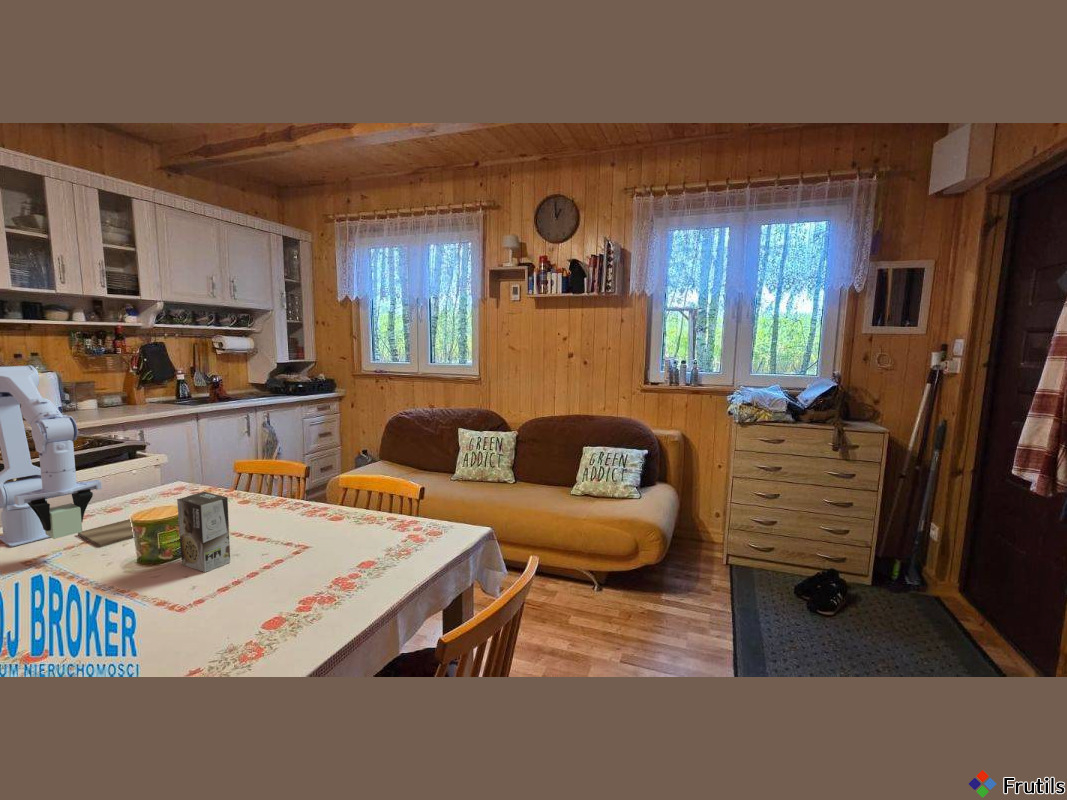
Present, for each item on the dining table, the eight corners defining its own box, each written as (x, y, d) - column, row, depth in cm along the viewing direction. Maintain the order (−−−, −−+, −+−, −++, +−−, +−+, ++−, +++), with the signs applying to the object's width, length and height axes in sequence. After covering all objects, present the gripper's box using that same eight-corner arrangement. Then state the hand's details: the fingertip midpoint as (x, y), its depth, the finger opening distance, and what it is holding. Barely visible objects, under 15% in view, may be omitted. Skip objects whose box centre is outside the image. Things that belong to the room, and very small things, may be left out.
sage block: (45, 534, 112) (43, 509, 111) (73, 527, 116) (71, 503, 116) (53, 539, 110) (51, 513, 109) (82, 531, 114) (80, 507, 113)
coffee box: (232, 561, 115) (229, 497, 113) (204, 573, 109) (200, 505, 107) (208, 553, 119) (205, 490, 117) (179, 564, 113) (176, 498, 111)
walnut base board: (78, 535, 126) (77, 532, 126) (137, 519, 137) (137, 517, 137) (100, 547, 120) (99, 544, 120) (160, 530, 131) (160, 527, 131)
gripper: (20, 480, 103) (26, 540, 105) (105, 465, 116) (109, 519, 117) (8, 474, 106) (14, 533, 108) (92, 461, 119) (96, 513, 121)
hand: (63, 525), depth 113 cm, fingers closed on sage block, 5 cm apart
